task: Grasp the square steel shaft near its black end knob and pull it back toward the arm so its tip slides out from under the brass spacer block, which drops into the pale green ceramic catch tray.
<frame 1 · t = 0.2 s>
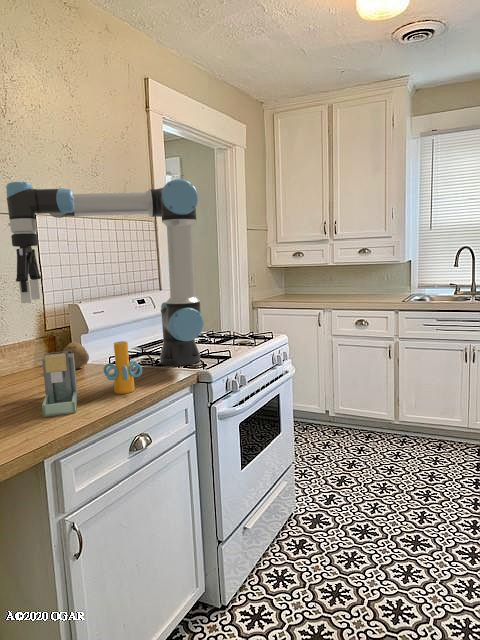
hand: (31, 301, 157), 28 cm above the worktop, fingers open, 13 cm apart
spacer: (56, 370, 132), point 11 cm above the worktop, touching shaft
tray: (60, 403, 133), on the worktop
natural sponge: (76, 369, 184), on the worktop
cylinder: (124, 392, 148), on the worktop
housing: (62, 400, 141), on the worktop
shaft: (59, 368, 140), point 9 cm above the worktop, slide at 0.0 cm, touching spacer
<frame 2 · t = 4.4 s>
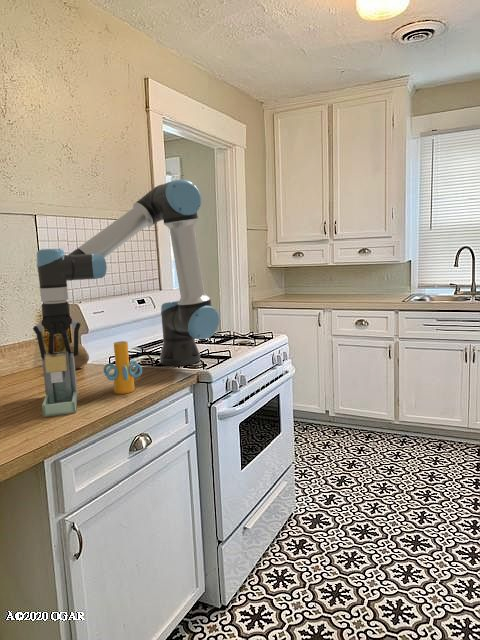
hand: (62, 380, 147), 5 cm above the worktop, fingers closed on shaft, 3 cm apart
shaft: (59, 368, 140), point 9 cm above the worktop, slide at 0.0 cm, touching gripper, spacer
everything else where it was.
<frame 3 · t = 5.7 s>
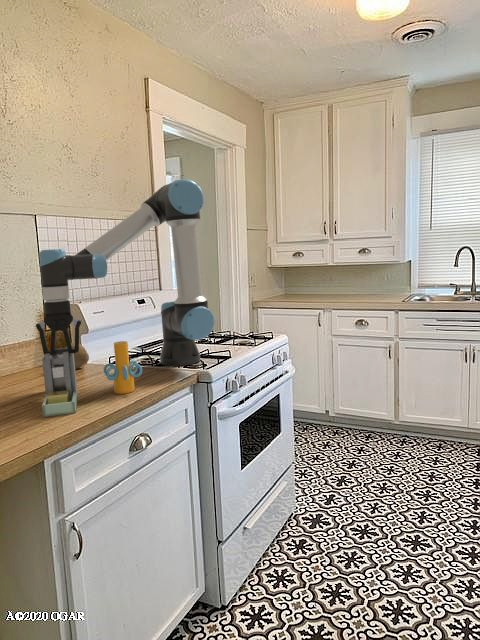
hand: (64, 375, 153), 5 cm above the worktop, fingers closed on shaft, 3 cm apart
spacer: (59, 407, 133), resting on tray
shaft: (60, 364, 146), point 9 cm above the worktop, slide at 6.0 cm, touching gripper
everything else where it was.
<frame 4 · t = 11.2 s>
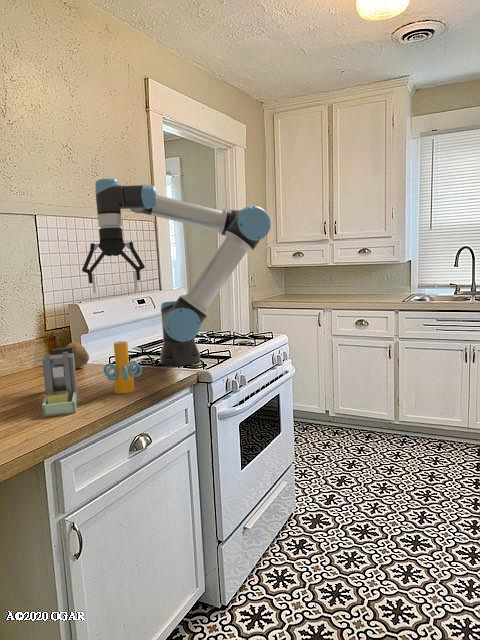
hand: (115, 292, 165), 29 cm above the worktop, fingers open, 13 cm apart
shaft: (61, 364, 146), point 10 cm above the worktop, slide at 6.1 cm
everything else where it was.
at the end: spacer inside the target area on the worktop beside the housing (1.2 cm from its centre), point 0.5 cm above the worktop; shaft slide at 6.1 cm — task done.
